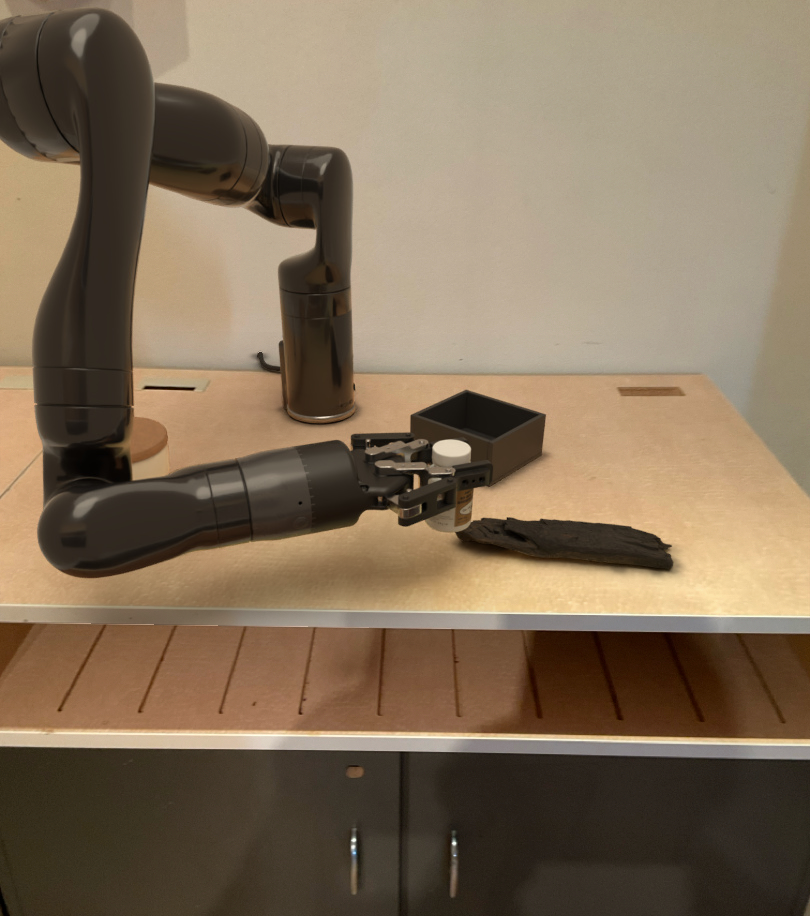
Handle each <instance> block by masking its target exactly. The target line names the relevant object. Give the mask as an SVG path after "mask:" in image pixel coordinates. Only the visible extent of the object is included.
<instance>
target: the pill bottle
mask: <svg viewBox="0 0 810 916" xmlns="http://www.w3.org/2000/svg"><path fill="white" fill-rule="evenodd" d="M470 460H471V447H470V446H469V445H468V444H467V443H465V442H462V441H459V440H442V441H439V442H437V443H435V444H434V445H433V448H432V462H433V464H432V465H431V466H430V465H429V467H452V466H454V465H460V464H466V463H470ZM438 480H441V478H431V479H429V480H428V484H430V483H433V482H436V481H438ZM474 489H475V488H473V489H468V490H462V491H458V492H457V497H456V507H455V508H453V509H451V510H448V511H446V512H443V513H441V514H438V515H436V516H433V517H431V518H428V519H426V520H424V522H425V524H426V525H427V527H429V528H430V529H431V530H435V531H436V532H439V533H450V534H451V533H455V532H459V531H462V530H464V529H466V528H467V527H468V526H469V525H470V523H471V522H472V516H473V515H472V514H473V503H474V502H473V501H474ZM441 499H442V498H437V501H438V500H441Z"/></svg>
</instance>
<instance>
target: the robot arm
mask: <svg viewBox="0 0 810 916" xmlns="http://www.w3.org/2000/svg"><path fill="white" fill-rule="evenodd" d="M153 75H154V74H153V71H152V67H151V63H150V60H149V58H148V55H147V52H146V49H145V47H144V45H143V44H142V41H141V40H140V38H139V36H138V35H137V33H136V32H135V30H134V29H133V28H132V27H131V25H130V24H129V23H128V22H127V21H126V20H125V19H124V18H123V17H122V16H120V14H118V13H116V12H114V11H112V10H110V9H109V8H103V7H98V6H84V7H83V6H82V7H74V8H64V9H55V10H54V9H53V10H47V11H46V10H45V11H39V12H30V13H24V14H17V15H11V16H8V17H6V18H2V19H0V141H1V142H2V143H3V144H5V145H6V146H7V147H9V148H10V149H11V150H13V151H14V152H16V153H17V154H20V155H21V156H23V157H25V158H27V159H29V160H32V161H36V162H40V163H50V164H62V165H73V166H79V192H78V198H77V199H78V200H77V206H76V211H75V214H74V218H73V222H72V225H71V228H70V231H69V234H68V238H67V240H66V243H65V245H64V248H63V250H62V253H61V255H60V258H59V260H58V262H57V264H56V266H55V268H54V271H53V273H52V275H51V276H50V278H49V281H48V283H47V286H46V288H45V291H44V292H43V295H42V296H41V297H42V298H41V300H40V302H39V306H38V309H37V312H36V316H35V319H34V324H33V330H32V338H31V363H32V365H31V366H32V386H33V388H32V389H33V403H34V408H33V409H34V418H35V425H36V430H37V434H38V437H39V440H40V442H41V446H42V511H41V513H40V515H39V519H38V521H37V527H36V539H37V543H38V547H39V549H40V552H41V554H42V556H43V557H44V558H45V560H46V561H47V562H48V563H49V564H50V565H51V566H52V567H53V568H54V569H56V570H57V571H58V572H60V573H62V574H65V575H67V576H70V577H73V578H77V579H86V580H88V579H89V580H90V579H102V578H103V579H104V578H110V577H114V576H120V575H124V574H128V573H132V572H136V571H138V570H143V569H145V568H149V567H153V566H155V565H158V564H161V563H164V562H167V561H171V560H174V559H176V558H179V557H182V556H184V555H187V554H191V553H195V552H203V551H210V550H211V551H212V550H217V549H223V548H228V547H229V548H230V547H233V546H238V545H239V546H240V545H244V544H249V543H257V542H271V541H272V542H273V541H281V540H286V539H292V538H298V537H302V536H308V535H313V534H318V533H323V532H329V531H333V530H334V531H335V530H339V529H344V528H351V527H353V526H355V525H356V524H357V522H359V520H360V517H361V515H363V513H365V512H366V511H382V512H383V511H389V510H390V511H392V512H393V513H394V514H396V515H397V525H398V526H400V527H402V528H403V527H405V528H407V527H410V526H411V527H412V526H413V525H415V524H418V523H421V522H423V521H425V520H426V519H428V518H431V517H433V516H436V515H438V514H441V513H443V512H446V511H448V510H451V509H453V508H455V507H456V497H457V492H458V491H462V490H468V489H473V488H474V489H478V488H483V487H484V488H485V487H488V486H487V485H490V484H491V482H492V479H493V465H492V464H491V463H490V462H489V461H488V460H483V461H477V462H472V463H466V464H460V465H454V466H452V467H430V466H431V465H432V464H433V462H432V448H433V445H434V444H435V443H437V442H439V441H436V442H430V443H428V441H427V440H425V439H418V440H415V434H413V433H410V431H405V432H371V433H370V432H368V433H364V432H363V433H353V434H351V435H350V447H349V446H348V445H347V444H346V443H345V442H344V441H342V440H340V439H333V440H325V441H320V442H319V441H318V442H313V443H306V444H299V445H294V446H287V447H279V448H273V449H267V450H262V451H257V452H254V453H250V454H247V455H244V456H241V457H235V458H231V459H229V458H228V459H224V460H223V459H222V460H217V461H210V462H205V463H204V462H203V463H198V464H193V465H192V464H191V465H188V466H184V467H181V468H177V469H175V470H173V471H171V472H169V474H168V475H165V476H161V477H153V478H146V479H139V480H133V474H132V460H131V448H130V444H131V439H132V434H133V426H134V417H135V408H134V406H135V392H134V391H135V385H134V384H135V383H134V382H135V381H134V351H133V347H134V345H133V344H134V343H133V342H134V341H133V339H134V336H133V335H134V334H133V333H134V331H133V330H134V329H133V328H134V327H133V326H134V324H133V323H134V308H135V306H134V305H135V295H136V285H137V278H138V277H137V276H138V268H139V263H140V257H141V256H140V255H141V249H142V243H143V242H142V241H143V237H144V236H143V235H144V230H145V229H144V228H145V221H146V213H147V207H148V206H147V204H148V196H149V189H150V186H153V187H155V188H160V189H163V190H166V191H169V192H171V193H176V194H179V195H181V196H184V197H186V198H189V199H192V200H196V201H199V202H201V203H206V204H209V205H213V206H218V207H223V208H228V209H238V208H242V209H245V210H246V211H248V212H250V213H252V214H254V215H256V216H258V217H259V218H261V219H263V220H265V221H267V222H269V223H270V224H273V225H276V226H278V227H283V228H288V229H300V230H311V231H315V242H314V246H313V247H312V248H311V249H308V250H307V251H305V252H302V253H298V254H295V255H292V256H289V257H287V258H285V259H283V260H282V261H280V262H279V264H278V266H277V283H278V293H279V306H280V307H279V308H280V319H281V332H282V339H281V340H280V341H279V342H278V356H279V365H272V364H269V363H267V362H266V361H265V358H264V353H262V352H263V351H262V352H259V351H258V352H259V353H258V352H257V354H256V358H258V361H259V364H260V366H261V367H263V368H264V369H265V370H268V371H272V372H280V381H281V382H280V383H281V393H282V408H283V409H284V410H286V411H287V412H286V413H287V414H288V415H289V416H290V417H291V418H293V419H294V420H297V421H299V422H304V423H309V424H329V423H335V422H339V421H342V420H346V419H348V418H350V417H351V416H352V415H353V414H355V412H356V401H355V391H356V383H355V374H354V341H353V340H354V339H353V337H354V336H353V335H354V333H353V307H352V305H353V304H352V302H353V301H352V265H353V264H352V263H353V225H354V224H353V221H354V220H353V218H354V179H353V178H354V177H353V169H352V165H351V162H350V159H349V157H348V155H347V153H346V152H345V151H344V150H343V149H341V148H340V147H336V146H329V145H327V146H326V145H325V146H324V145H305V144H303V145H302V144H282V143H281V144H273V143H272V144H271V143H268V141H267V137H266V135H265V133H264V131H263V130H262V128H261V126H260V125H259V124H258V122H257V121H256V120H255V119H254V118H253V117H252V116H251V115H250V114H248V113H246V112H245V111H244V110H242V109H241V108H239V107H238V106H236V105H234V104H232V103H230V102H228V101H227V100H225V99H223V98H220V97H219V96H217V95H214V94H213V93H210V92H207V91H204V90H200V89H197V88H194V87H189V86H184V85H178V84H170V83H163V82H157V81H155V80H154V76H153ZM448 440H459V441H462V442H465V443H467V444H468V445H469V442H468V441H467V440H466V439H465V438H463V437H460V438H454V439H448ZM415 475H416V476H418V478H417V488H415ZM431 478H441V480H438V481H436V482H433V483H430V484H428V480H429V479H431ZM437 498H442V499H441V500H438V501H437Z"/></svg>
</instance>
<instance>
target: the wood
mask: <svg viewBox="0 0 810 916" xmlns="http://www.w3.org/2000/svg"><path fill="white" fill-rule="evenodd" d="M454 533H455V535H456V537H457V539H458V540H459V541H462V542H476V543H478V544H481V545H489V544H492V545H494V546H498V547H501V548H505V549H508V550H509V551H515V552H518V553H520V554H522V555H526V556H530V557H535V558H540V559H541V558H542V559H549V558H552V559H559V558H564V559H575V560H582V561H588V562H596V563H608V564H622V565H630V566H631V565H632V566H641V567H642V566H643V567H650V568H655V569H664V570H665V569H666V570H669V569H672V568H673V567H674V563H675V562H674V560H673V558H672V554H671V553H669V552H666V551H667V550H669V549H671V548H673V545H672V544H669V543H665V542H663V541H662V539H661V537H659V536H657V535H656V534H654V533H652V532H647V531H644V530H642V529H638V528H634V527H632V525H623V524H614V523H604V522H603V523H602V522H589V521H582V520H581V521H579V520H578V521H577V520H569V519H568V520H561V519H555V518H554V519H549V518H548V519H547V518H543V517H542V518H540V519H539V520H535V519H534V520H523V519H518V518H515V517H512V516H506V519H503V518H495V517H481V518H480V519H474V520H473V519H472V521H471V523H470V525H469V526H468V527H467V528H466V529H464V530H462V531H459V532H454Z"/></svg>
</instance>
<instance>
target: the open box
mask: <svg viewBox="0 0 810 916" xmlns="http://www.w3.org/2000/svg"><path fill="white" fill-rule="evenodd" d="M409 416H410V417H409V421H410V423H409V428H410V430H409V432H410V433H413V434H415V440H418V439H425V440H427V441H428V443H430V442H436V441H442V440H448V439H454V438H460V437H463V438H465V439H466V440H467V441H468V442H469V446H470V447H471V460H470V463H472V462H477V461H483V460H488V461H489V462H490V463H491V464H492V465H493V479H492V482H491V484H490V485H487V486H486V487H492V486H493V485H495V484H497V483H498V482H499V481H501V480H503V479H505V478H506V477H508V476H509V475H512V474H513V473H514V472H516V471H518V470H520V469H521V468H523V467H524V466H526V465H528V464H530V463H531V462H532V461H534V460H536V459H538V458H539V457H541V456H542V455H543V447H544V437H545V429H546V428H545V427H546V419H547V414H546V413H543V412H540V411H536V410H534V409H530V408H527V407H523V406H520V405H517V404H514V403H511V402H509V401H504V400H501V399H498V398H494V397H493V396H492V397H491V396H488V395H485V394H481V393H478V392H475V391H472V390H469V389H464V390H462V391H460V392H457V393H455V394H453V395H451V396H448V397H447V398H443V399H442V400H440V401H438V402H436V403H433V404H431V405H428V406H427V407H424V408H422V409H419V410H418V411H416V412H413V413H412V414H410V415H409Z"/></svg>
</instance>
